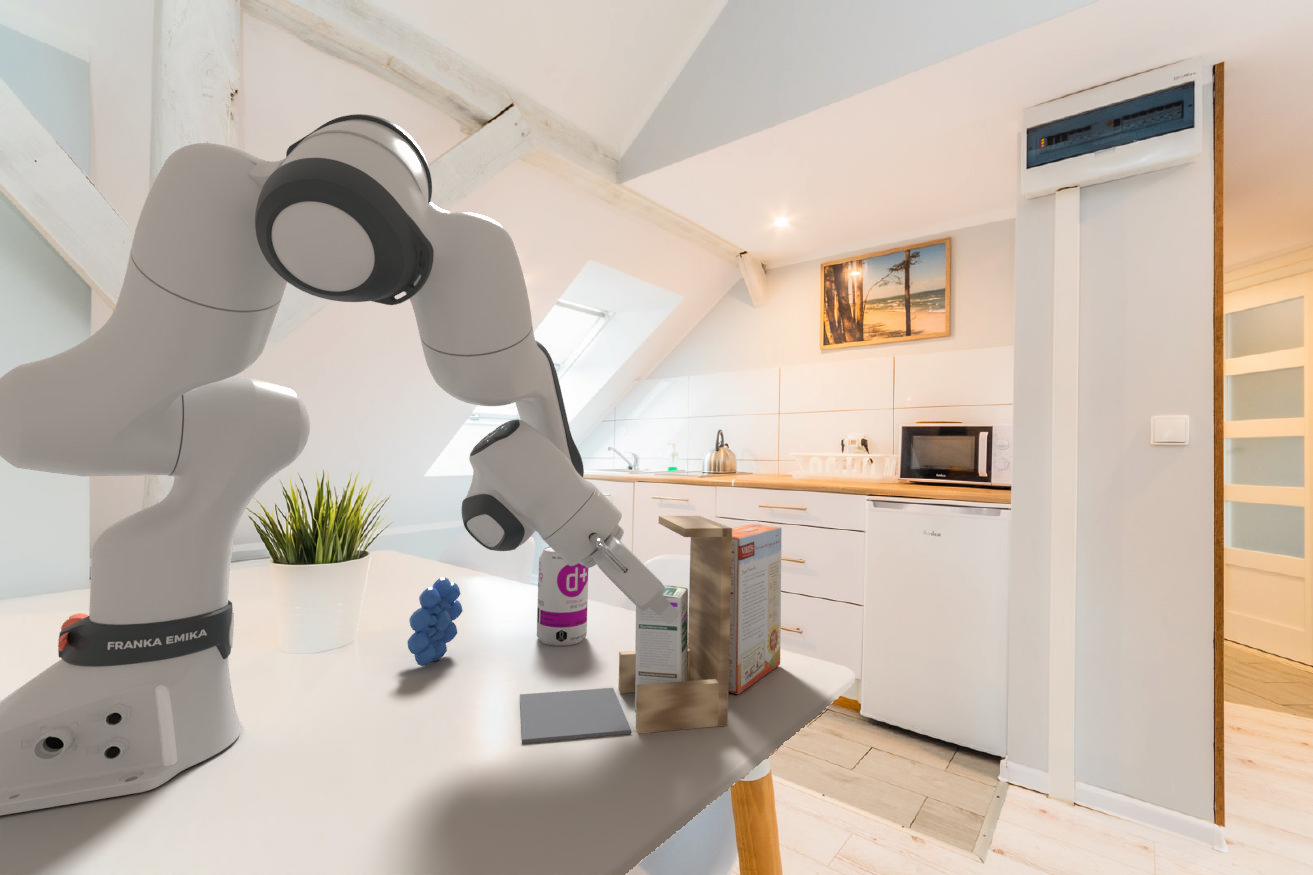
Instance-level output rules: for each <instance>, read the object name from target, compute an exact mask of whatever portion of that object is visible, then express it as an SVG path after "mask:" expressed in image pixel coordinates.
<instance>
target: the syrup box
mask: <svg viewBox="0 0 1313 875" xmlns="http://www.w3.org/2000/svg"><path fill="white" fill-rule="evenodd" d="M663 585H664V587H665V590H664V592H663V593H662V594H663V595H664V596H665V598H666V599H667V600H668V601H669V603H670V604H671V605H672V606H673V607H674V608H675V609H676V610H677V611H678V613H679V616H678V617H677V618H676V619H675V620H674V621H673V623H671V624H668V623H666V622H665V621H664V620H663V619H662V618H661V617H660V616H659V615H658V614H657V613H655V612H654V611H653V610H652V609H650V608H648V609H647V610H641V609H640V608H638V607H637V606H636V605H635V650H634V651H636V652H635V692H634V712H635V713H636V701H637V685H639V684H653V683H667V682H681V681H688V624H689V588H687V587H683V586H677V585H667V584H666V585H665V584H663Z"/></svg>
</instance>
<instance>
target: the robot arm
mask: <svg viewBox="0 0 1313 875" xmlns="http://www.w3.org/2000/svg"><path fill="white" fill-rule="evenodd" d="M432 180H433V179H432V175H431V170H430V167H429V164H428V161H427V159H426V156H425V154H424V153H423V151H422V149H421V148H420V146H419V145H418V144H417V142H416V141H415V140H414V138H413V137H412V135H410V134H409V133H408V132H407V131H406V130H405V129H403V128H402V127H400V126H399V125H397V124H395V123H394V122H392V121H390V120H388V119H385V118H383V117H380V116H377V115H372V114H365V113H363V114H361V113H360V114H359V113H356V114H354V113H353V114H348V115H342V116H339V117H336V118H334V119H331V120H329V121H326V122H325V123H323V124H322V125H320V126H318V127H317V128H316V129H314V130H313V131H312V132H309V134H307V135H306V136H304V137H302V138H300V139H299V140H298V141H295V142H293V143H292V144H291V145H289V147H288V148H287V150H286V154H285V158H282V159H281V160H277V161H269V160H265V159H261V158H259V157H257V156H255V155H252V154H250V153H248V152H246V151H243V150H241V149H239V148H236V147H232V146H229V145H225V144H217V143H212V142H211V143H206V142H203V143H201V142H200V143H199V142H198V143H192V144H188V145H185V146H182V147H180V148H178V149H176V150H175V151H173V152H171V154H170V155H169V156H168V157H167V159H166V160H165V162H164V163H163V165H162V167H161V169H160V170H159V172H158V173H157V176H156V177H155V179H154V182H153V183H152V186H151V188H150V189H149V192H148V194H147V197H146V198H145V201H144V204H143V206H142V209H141V212H140V215H139V216H138V217H139V218H138V221H137V224H136V227H135V230H134V235H133V239H132V244H131V248H130V252H129V257H128V263H127V267H126V272H125V276H124V278H123V283H122V287H121V289H120V292H119V296H118V299H117V302H116V304H115V307H114V310H113V311H112V314H111V315H110V317H109V318H108V320H106V322H105V323H104V324H103V325H102V326H101V328H99V329H98V330H97V331H96V332H95V333H93V334H92V335H91V336H89V337H88V338H86V339H85V340H84V341H82V342H80V343H78V344H77V345H74V346H73V347H71V348H68V349H67V350H65V351H62V352H60V353H58V354H55V355H52V356H49V357H47V358H43V359H42V358H41V359H39V360H36V361H31V362H30V361H29V362H26V363H21V364H19V365H18V366H16V367H14V368H12V369H11V370H9V371H8V372H6V373H5V374H4V375H3V376H1V377H0V458H2V459H3V460H4V461H6V462H7V463H9V464H10V465H12V466H13V467H15V468H17V469H22V470H29V471H30V470H31V471H38V472H43V473H44V472H45V473H52V474H61V475H69V476H77V477H124V476H125V477H126V476H130V477H131V476H138V477H139V476H168V477H174V478H173V483H172V486H171V489H170V490H169V492H168V493H167V495H166V496H165V497H164V498H163V499H162V500H161V501H160V502H158V503H155V504H153V505H151V506H149V507H146V508H144V509H142V510H139V511H137V512H134V513H132V514H129V515H127V516H125V517H123V518H121V519H119V520H117V521H116V522H114V523H112V524H110V525H109V526H108V527H107V528H106V529H105V530H103V531H102V532H101V533H100V535H99V536H98V538H96V540H95V542H94V544H93V546H92V549H91V564H90V565H91V566H90V585H89V586H90V588H89V589H90V590H89V608H88V610H89V612H88V613H89V614H86V613H83V612H82V613H81V612H80V613H78V612H77V613H75V614H72V615H70V616H69V617H68V619H66V620H65V621H64V622H63V623H62V625H61V628H60V632H59V636H58V642H57V647H58V648H57V649H58V650H57V651H58V652H57V653H58V658H60V659H59V660H57V661H56V662H55V663H54V664H52V665H50V666H49V667H47V668H46V669H45V670H43V671H41V672H40V673H39V674H38V675H36V676H34V677H33V678H32V679H31V678H30V680H28V681H27V682H26V683H24V684H23V685H22V686H19V687H18V688H16V690H14V691H13V692H11V693H10V694H8V695H7V696H6V697H4V698H3V699H0V816H5V815H6V816H7V815H11V814H17V813H23V812H30V811H35V810H42V809H46V808H55V807H60V806H67V805H72V804H79V803H84V802H90V801H97V800H103V799H107V798H114V797H115V798H116V797H121V796H127V795H131V794H138V793H139V794H140V793H145V792H147V791H150V790H151V791H152V790H153V789H156V788H158V787H160V786H162V785H163V784H165V783H166V782H168V781H169V780H171V779H172V778H173V777H175V776H176V775H178V774H179V773H181V772H183V771H184V770H186V769H188V768H191V767H192V766H195V765H197V764H199V763H201V762H204V761H206V760H207V759H210V758H213V757H214V756H215V755H217V754H219V753H221V752H222V751H224V750H225V749H226V748H228V747H230V746H231V745H232V744H233V743H234V742H236V740H237V739H238V738H239V737H240V735H241V733H242V724H241V721H240V718H239V714H238V712H237V708H236V704H235V699H234V696H233V695H234V694H233V689H232V683H231V674H230V673H231V672H230V664H229V660H230V659H229V656H230V654H231V652H232V648H233V643H234V642H233V641H234V626H235V624H234V623H235V617H234V616H235V615H234V614H235V613H234V611H233V610H234V609H233V602H232V601H231V600H230V599H229V588H230V587H229V584H230V574H231V573H230V572H231V565H232V564H231V563H232V554H233V550H234V549H233V547H234V542H235V535H236V532H237V529H238V525H239V523H240V521H241V519H242V517H243V515H244V512H245V510H246V508H247V507H248V506H249V503H250V501H251V500H252V499H253V498H254V497H255V495H256V494H257V492H259V491H260V489H261V488H262V487H263V486H264V485H265V484H266V483H267V482H268V481H269V480H271V478H274V476H275V475H276V474H278V473H279V472H281V471H282V470H284V469H286V468H287V467H289V466H290V465H291V464H293V463H294V461H296V459H298V458H299V456H300V455H301V454H302V453H303V450H304V449H305V447H306V444H307V442H308V440H309V436H310V429H311V423H310V416H309V412H308V410H307V408H306V405H305V404H304V402H303V400H302V399H301V397H300V396H299V395H298V394H297V392H296V391H295V390H294V389H293V388H290V387H288V386H284V385H281V384H277V383H273V382H270V381H267V380H263V379H258V378H253V377H250V376H246V375H239V374H240V373H243V372H244V371H245V370H247V369H248V368H250V367H251V366H253V364H254V363H256V362H257V360H258V358H259V357H260V356H261V355H262V353H263V351H264V350H265V347H266V345H267V344H266V343H267V341H268V338H269V336H270V333H271V330H272V327H273V324H274V321H275V318H276V315H277V313H278V310H279V306H280V304H281V302H282V299H283V297H284V296H283V295H284V293H285V291H286V288H287V284H289V285H291V286H292V287H294V288H296V289H297V290H300V291H302V292H304V293H306V294H308V295H311V296H314V297H317V298H320V299H325V300H328V301H336V302H342V303H365V302H374V303H378V304H381V305H382V304H383V305H385V306H386V305H387V306H395V305H400V304H402V303H404V302H406V301H410V304H411V305H412V309H413V312H414V316H415V320H416V325H417V331H418V333H419V338H420V341H421V345H422V346H421V347H422V351H423V356H424V359H425V362H426V366H427V368H428V370H429V372H430V375H431V376H432V378H433V379H434V381H435V382H436V384H437V385H438V386H439V387H440V388H441V390H443V391H444V392H445V393H447V394H448V395H449V396H451V397H452V398H455V399H457V400H459V401H461V402H464V403H467V404H470V405H475V406H483V407H501V406H506V405H507V406H508V405H511V404H514V403H515V407H516V409H517V411H518V412H517V413H518V416H519V419H511V420H509V421H506V422H504V423H502V424H501V425H499V426H497V427H496V428H495V429H494V430H492V431H491V432H489V433H488V434H486V436H484V437H483V438H482V439H481V440H480V441H478V443H477V444H476V445H475V446H474V447H473V448H472V450H471V451H470V453H469V456H468V457H469V458H468V459H469V460H468V461H469V463H470V465H471V467H472V470H473V472H472V473H473V475H472V480H471V483H470V487H469V488H468V489H469V490H468V492H467V493H466V496H465V498H464V499H463V500H462V503H461V519H462V522H463V523H462V524H463V526H464V529H465V530H466V532H468V534H469V535H470V536H471V538H473V539H474V540H475V541H476V542H477V543H478V544H480V546H482V547H484V548H485V549H487V550H489V551H496V552H510V551H515V550H516V549H517V548H519V547H520V546H522V545H523V544H525V543H526V542H527V541H528V540H529V539H530V538H531V536H533V534H534V533H538V535H539V537H540V539H541V540H543V542H545V543H546V544H547V545H548V547H549V546H550V547H551V548H552V549H553V550H554V551H555V552H556V553H557V554H558V555H559V556H560V557H561V558H562V559H563V560H564V561H565V562H566V563H567V564H568V565H569V566H574V565H576V564H578V563H580V562H581V563H583V565H584V566H585V567H586V568H588V569H590V568H592V567H594V566H596V565H597V567H598V568H599V569H600V571H601V572H602V573H603V574H604V575H605V576H606V578H608V579H609V580H610V581H611V582H612V583H613V584H614V585H615V586H616V587H617V588H618V590H620V591H621V593H623V594H624V596H626V597H627V599H629V600H630V602H631V603H632V604H634V606H635V607H636V606H637V607H638V608H640V609H641V610H647V609H648V608H650V609H652V610H653V611H654V612H655V613H657V614H658V615H659V616H660V617H661V618H662V619H663V620H664V621H665V622H666V623H668V624H671V623H673V621H674V620H675V619H676V618H677V617H678V616H679V613H678V611H677V610H676V609H675V608H674V607H673V606H672V605H671V604H670V603H669V601H668V600H667V599H666V598H665V596H664V595H663V594H662V593H663V592H664V590H665V587H664V585H665V584H663V583H662V581H661V580H660V579H659V578H658V577H657V575H655V574H654V573H653V572H652V570H650V569H649V568H648V567H647V566H646V565H645V564H644V563H643V562H642V561H641V560H640V559H639V558H638V557H637V555H635V554H634V553H633V551H631V550H630V549H629V548H628V546H626V545H625V544H624V543H623V542H622V538H623V536H624V532H625V530H624V529H623V528H622V526H620V525H619V523H620V522H621V520H622V516H623V515H622V512H621V510H619V509H618V508H617V507H616V506H615V504H613V503H612V502H611V501H610V499H608V497H606V496H605V495H604V494H603V492H602V491H601V490H600V489H599V488H598V487H597V486H596V485H595V484H594V483H592V482H590V481H588V480H587V479H585V478H584V473H585V472H584V469H585V468H584V463H583V458H582V456H581V454H580V451H579V449H578V447H577V445H576V443H575V441H574V438H573V436H572V433H571V432H572V431H571V430H570V429H571V428H570V425H569V420H568V415H567V411H566V407H565V402H564V398H563V393H562V389H561V385H560V381H559V377H558V373H557V369H556V366H555V364H554V360H553V359H552V357H551V355H550V353H549V351H548V350H547V348H546V347H545V346H544V345H543V343H541V342H539V341H537V340H536V338H535V335H534V328H533V320H532V314H531V313H532V311H531V306H530V300H529V294H528V289H527V284H526V281H525V280H526V279H525V276H524V272H523V269H522V265H521V262H520V259H519V256H518V252H517V250H516V246H515V244H514V241H513V238H512V237H511V235H510V234H509V232H508V231H507V230H506V228H504V226H503V225H501V224H500V223H499V222H497V221H496V220H494V219H492V218H490V217H488V216H485V215H482V214H478V213H475V212H467V211H456V212H454V211H453V212H450V211H449V210H447V209H446V210H445V209H442V208H440V207H439V206H437V205H435V204H434V203H433V202H432V201H431V200H432V195H433V182H432ZM402 293H405V295H403V296H402V297H400V298H396V296H398V295H400V294H402Z"/></svg>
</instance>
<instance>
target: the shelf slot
mask: <svg viewBox="0 0 1313 875" xmlns="http://www.w3.org/2000/svg"><path fill="white" fill-rule="evenodd" d="M658 524H659V525H661V526H663V527H664V528H666V529H668V530H670V531H671V532H674V533H676V534H678V535H680V536H682V537H684V538H690V543H689V544H690V546H689V547H690V552H689V555H690V556H689V585H688V586H689V588H688V681H681V682H667V683H653V684H639V685H637V701H636V712H635V729H636V733H637V734H646V733H655V732H656V733H658V732H669V731H680V730H689V729H690V730H691V729H700V728H701V729H702V728H711V727H712V728H715V727H723V726H728V720H729V719H728V716H729V714H728V713H729V692H728V682H729V640H730V598H731V556H732V528H733V527H730V526H728V525H725V524H722V523H719V522H717V521H714V520H712V519H709V518H706V517H704V516H701V515H658ZM635 652H636V651H635V650H627V651H626V650H623V651H619V652H618V653H619V654H618V656H619V657H618V685H617V686H618V688H617V690H618V692H619V694H627V693H630V694H631V693H635Z"/></svg>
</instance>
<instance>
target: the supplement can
mask: <svg viewBox="0 0 1313 875" xmlns="http://www.w3.org/2000/svg"><path fill="white" fill-rule="evenodd" d="M537 577H538V578H537V579H538V583H537V586H538V587H537V611H536V612H537V617H536V637H537V638H538V639H539V640H540V641H541V643H543V644H545V645H548V646H554V647H555V646H556V647H557V646H558V647H561V646H562V647H564V646H565V647H566V646H572V645H576V644H578V643H581V642H583V640H584V638H586V637H587V631H588V630H587V629H588V628H587V627H588V599H589V598H588V596H589V594H588V593H589V568H586V567H585V566H584V565H583V563H581V562H580V563H578V564H576V565H574V566H569V565H568V564H567V563H566V562H565V561H564V560H563V559H562V558H561V557H560V556H559V555H558V554H557V553H556V552H555V551H554V550H553V549H552V548H551V547H550V546H549V545H548V546H545V547H543V549H542V552H541V554H540V556H539V557H538V576H537Z"/></svg>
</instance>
